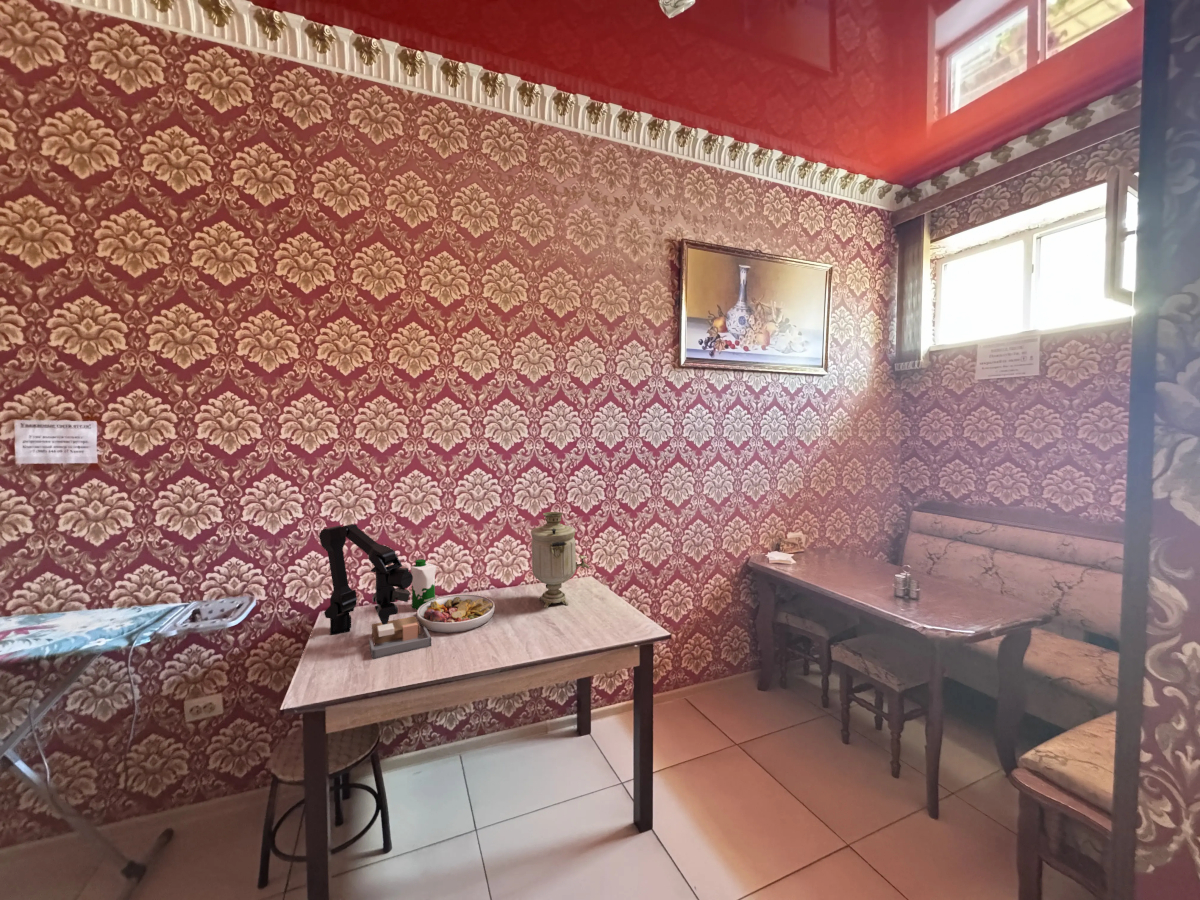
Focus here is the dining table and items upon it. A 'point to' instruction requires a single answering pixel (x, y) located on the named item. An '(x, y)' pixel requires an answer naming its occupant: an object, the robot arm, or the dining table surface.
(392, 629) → the cream tile
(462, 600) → the bowl
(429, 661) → the dining table surface
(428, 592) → the milk carton
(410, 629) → the terracotta tile
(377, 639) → the board
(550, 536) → the samovar
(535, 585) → the dining table surface
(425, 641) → the tray
